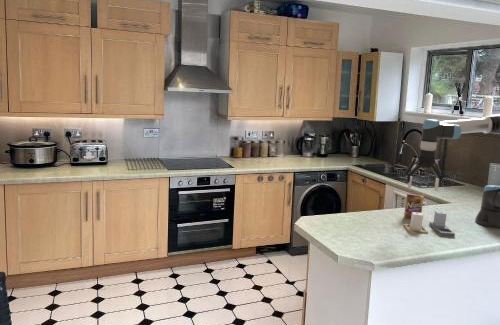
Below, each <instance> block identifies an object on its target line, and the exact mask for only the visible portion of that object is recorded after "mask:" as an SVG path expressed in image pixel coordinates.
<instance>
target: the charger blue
mask: <svg viewBox="0 0 500 325" xmlns="http://www.w3.org/2000/svg"><path fill="white" fill-rule="evenodd" d="M446 220H447V213H446V212H445V211H444V210H443V211H442V210H441V211H440V210H434V216H433V221H432V222H433V224H434V225H435V226H442V227H445V225H446Z"/></svg>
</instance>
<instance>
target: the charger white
mask: <svg viewBox="0 0 500 325" xmlns="http://www.w3.org/2000/svg"><path fill="white" fill-rule="evenodd" d="M423 219H424V214H423V213H417V212H412V216H411V219H410V223H409V225H410V227H409V230H419V231H422V226H423Z"/></svg>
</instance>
